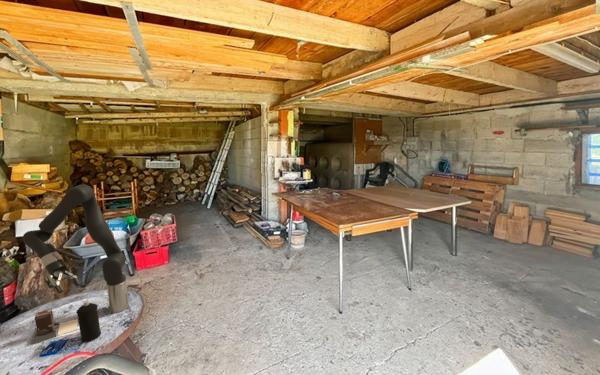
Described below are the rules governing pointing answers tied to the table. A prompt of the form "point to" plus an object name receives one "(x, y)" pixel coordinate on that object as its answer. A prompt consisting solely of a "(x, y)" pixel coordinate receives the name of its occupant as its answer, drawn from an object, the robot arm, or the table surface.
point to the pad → (68, 327)
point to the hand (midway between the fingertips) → (70, 288)
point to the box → (44, 322)
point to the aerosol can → (88, 322)
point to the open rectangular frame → (43, 336)
